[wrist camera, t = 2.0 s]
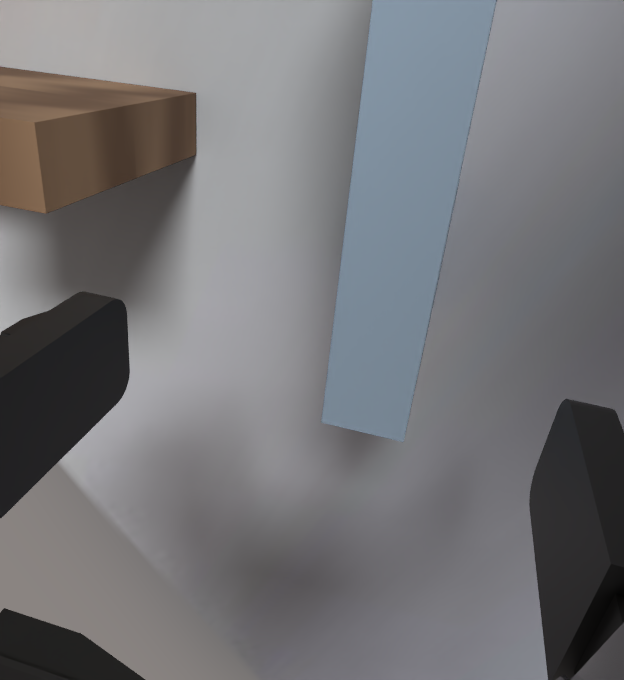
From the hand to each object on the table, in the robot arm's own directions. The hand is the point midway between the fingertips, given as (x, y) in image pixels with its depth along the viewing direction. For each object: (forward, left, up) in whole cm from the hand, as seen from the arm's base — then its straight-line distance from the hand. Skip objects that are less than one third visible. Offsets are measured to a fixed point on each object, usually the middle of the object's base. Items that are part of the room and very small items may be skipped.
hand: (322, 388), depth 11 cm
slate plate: (-1, -4, -11) cm, 11 cm away
